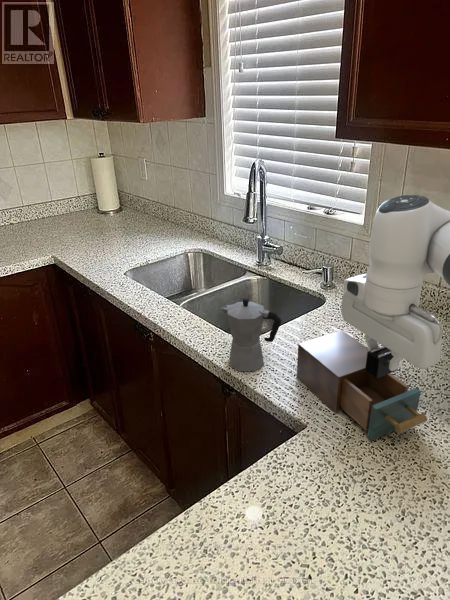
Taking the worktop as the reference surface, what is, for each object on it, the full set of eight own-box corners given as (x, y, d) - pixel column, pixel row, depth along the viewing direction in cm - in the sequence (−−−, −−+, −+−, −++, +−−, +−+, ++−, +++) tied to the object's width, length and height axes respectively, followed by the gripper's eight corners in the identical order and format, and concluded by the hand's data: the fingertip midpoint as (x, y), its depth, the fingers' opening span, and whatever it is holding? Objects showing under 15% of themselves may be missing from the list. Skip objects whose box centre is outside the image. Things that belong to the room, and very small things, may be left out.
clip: (385, 362, 84) (388, 342, 82) (397, 370, 82) (400, 350, 80) (365, 370, 82) (367, 350, 80) (376, 378, 80) (379, 358, 78)
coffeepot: (215, 366, 112) (211, 303, 104) (229, 347, 120) (227, 287, 112) (274, 380, 106) (275, 313, 98) (285, 359, 114) (287, 295, 106)
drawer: (432, 435, 87) (439, 403, 84) (387, 455, 83) (393, 423, 80) (368, 385, 102) (372, 357, 98) (328, 401, 98) (330, 371, 94)
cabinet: (380, 396, 100) (386, 360, 96) (335, 414, 95) (338, 377, 91) (338, 363, 112) (341, 330, 107) (296, 377, 107) (298, 343, 103)
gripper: (458, 314, 68) (442, 387, 74) (364, 270, 84) (358, 333, 91) (428, 325, 65) (415, 400, 72) (337, 277, 82) (333, 341, 88)
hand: (382, 362), depth 81 cm, fingers closed on clip, 3 cm apart
